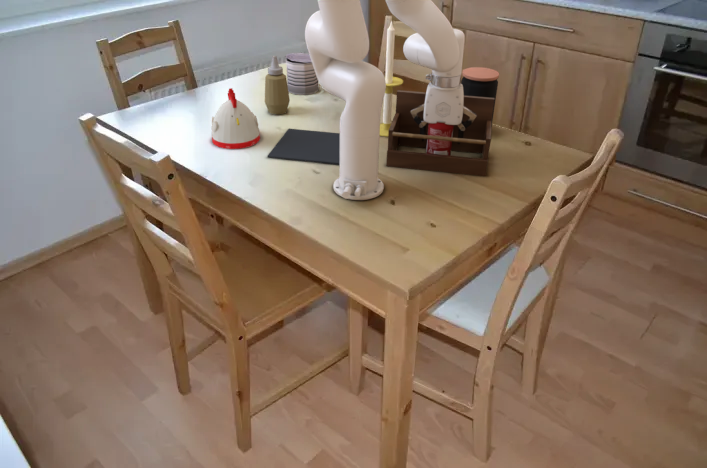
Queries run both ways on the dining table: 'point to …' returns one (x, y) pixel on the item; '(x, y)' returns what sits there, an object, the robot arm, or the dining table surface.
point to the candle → (389, 82)
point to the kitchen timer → (234, 125)
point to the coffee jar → (480, 83)
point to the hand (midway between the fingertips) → (441, 141)
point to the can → (301, 74)
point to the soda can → (439, 145)
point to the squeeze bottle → (276, 89)
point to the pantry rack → (440, 137)
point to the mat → (308, 147)
